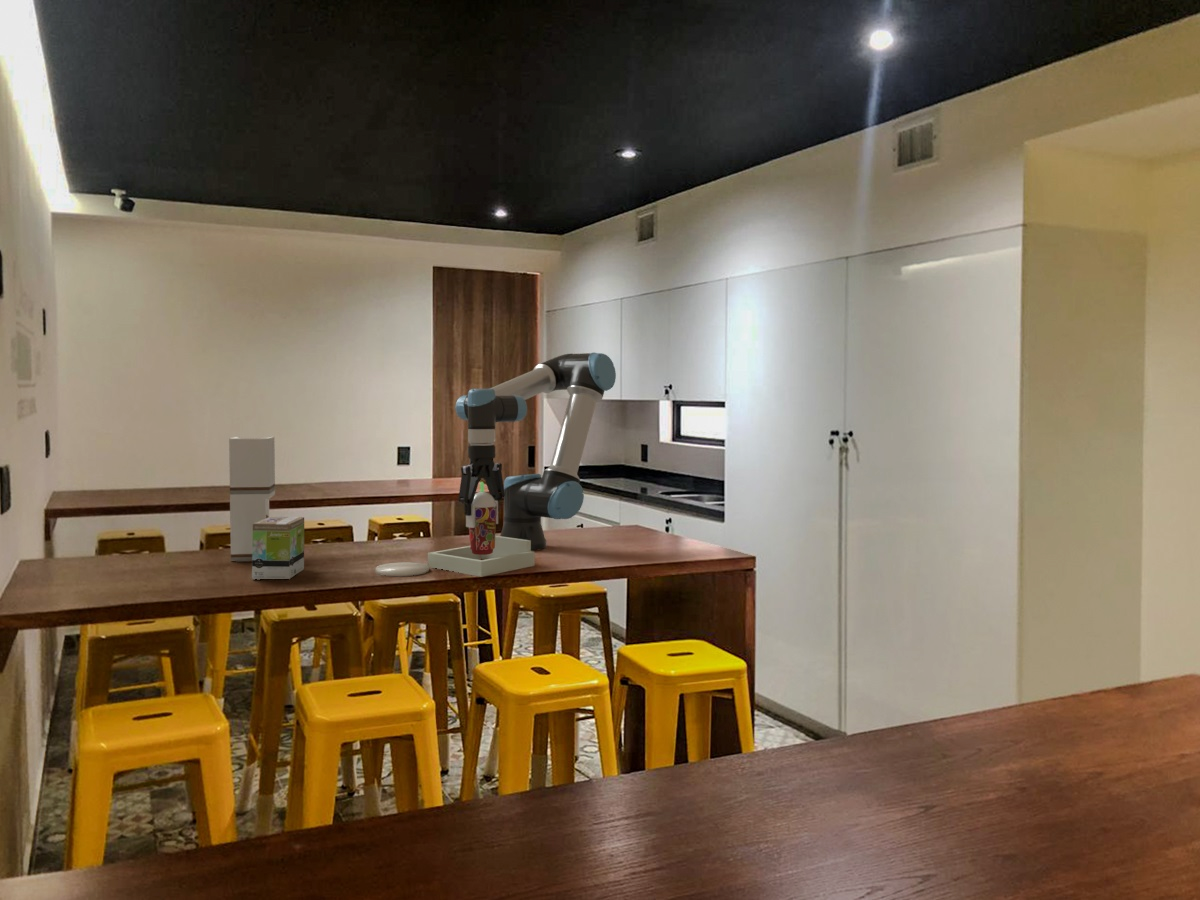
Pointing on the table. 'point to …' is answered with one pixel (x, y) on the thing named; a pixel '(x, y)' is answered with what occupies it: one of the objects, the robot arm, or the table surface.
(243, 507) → the striped white pillar
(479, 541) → the smoothie
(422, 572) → the saucer
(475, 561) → the shallow open tray
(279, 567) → the tea box
